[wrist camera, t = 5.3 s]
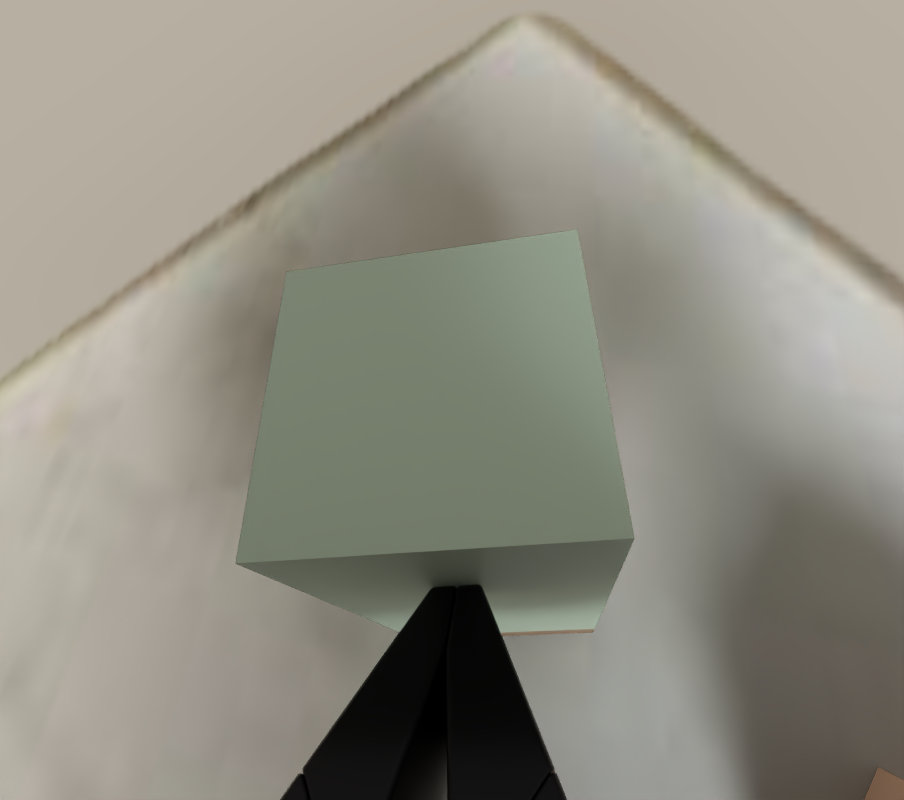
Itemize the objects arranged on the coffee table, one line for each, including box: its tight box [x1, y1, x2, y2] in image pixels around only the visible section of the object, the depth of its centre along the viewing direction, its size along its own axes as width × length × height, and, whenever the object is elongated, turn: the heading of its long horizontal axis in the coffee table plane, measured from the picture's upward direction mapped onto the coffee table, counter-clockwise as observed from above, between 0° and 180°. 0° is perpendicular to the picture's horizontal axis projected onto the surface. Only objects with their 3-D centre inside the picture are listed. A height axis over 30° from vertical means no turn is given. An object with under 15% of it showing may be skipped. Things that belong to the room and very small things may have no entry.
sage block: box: [236, 229, 634, 636], centre depth 12 cm, size 5×5×10 cm
